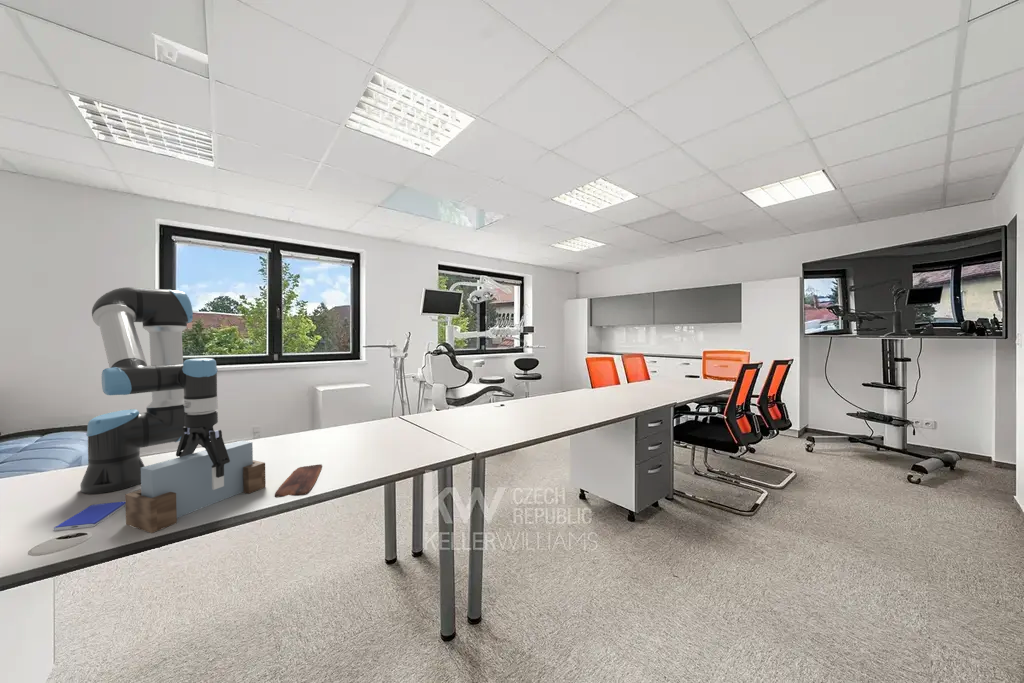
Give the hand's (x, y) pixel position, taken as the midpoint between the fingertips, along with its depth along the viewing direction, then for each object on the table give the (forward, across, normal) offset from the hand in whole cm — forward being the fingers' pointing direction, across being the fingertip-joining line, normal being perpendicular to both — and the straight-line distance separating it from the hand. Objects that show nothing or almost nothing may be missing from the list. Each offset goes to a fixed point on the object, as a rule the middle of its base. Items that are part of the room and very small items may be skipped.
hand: (202, 484), depth 111 cm
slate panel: (+6, 0, 0) cm, 6 cm away
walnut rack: (+6, 0, 0) cm, 6 cm away
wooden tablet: (+7, +11, +24) cm, 27 cm away
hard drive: (+7, -19, -16) cm, 26 cm away
